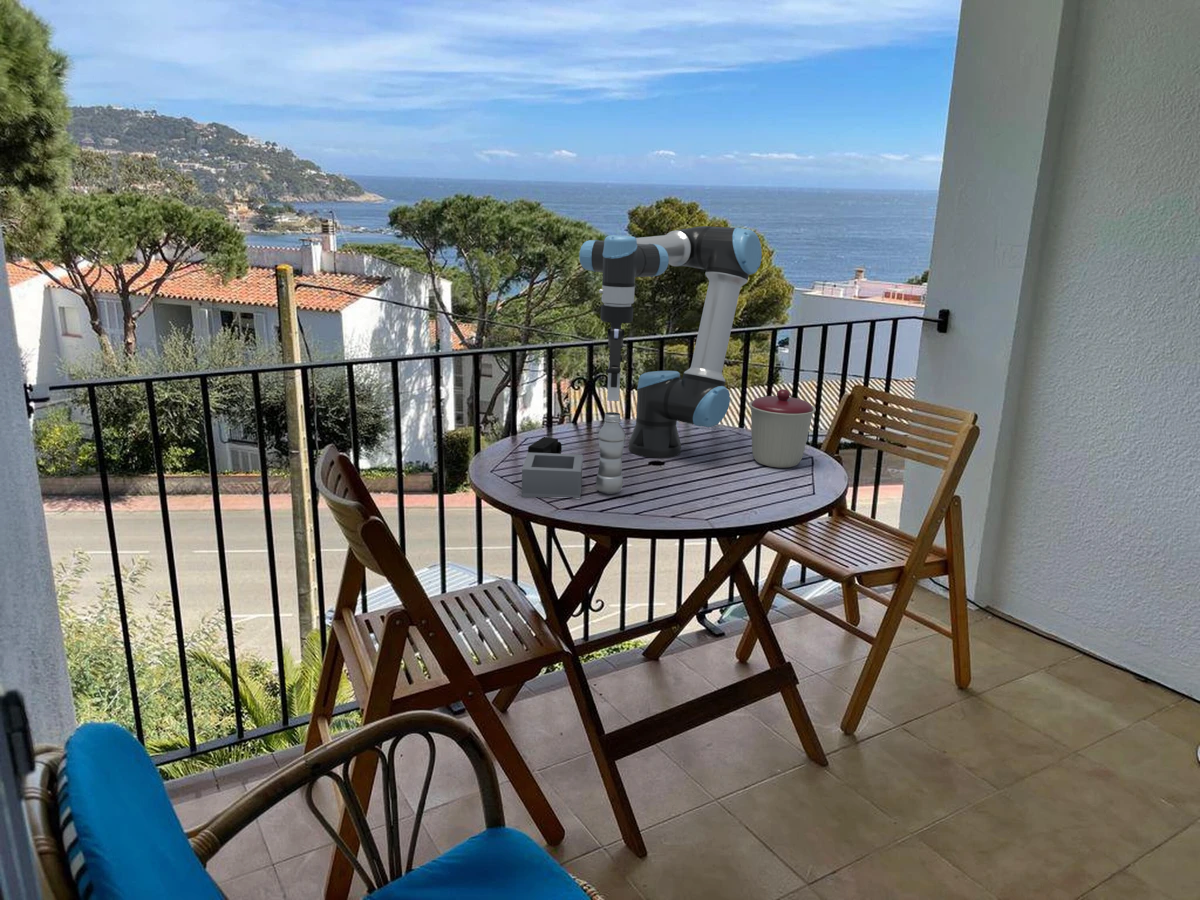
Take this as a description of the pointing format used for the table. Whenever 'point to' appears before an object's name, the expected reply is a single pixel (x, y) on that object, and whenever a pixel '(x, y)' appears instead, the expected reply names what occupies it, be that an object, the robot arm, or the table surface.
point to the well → (552, 475)
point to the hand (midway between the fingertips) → (613, 394)
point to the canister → (780, 429)
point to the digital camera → (546, 446)
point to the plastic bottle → (611, 455)
